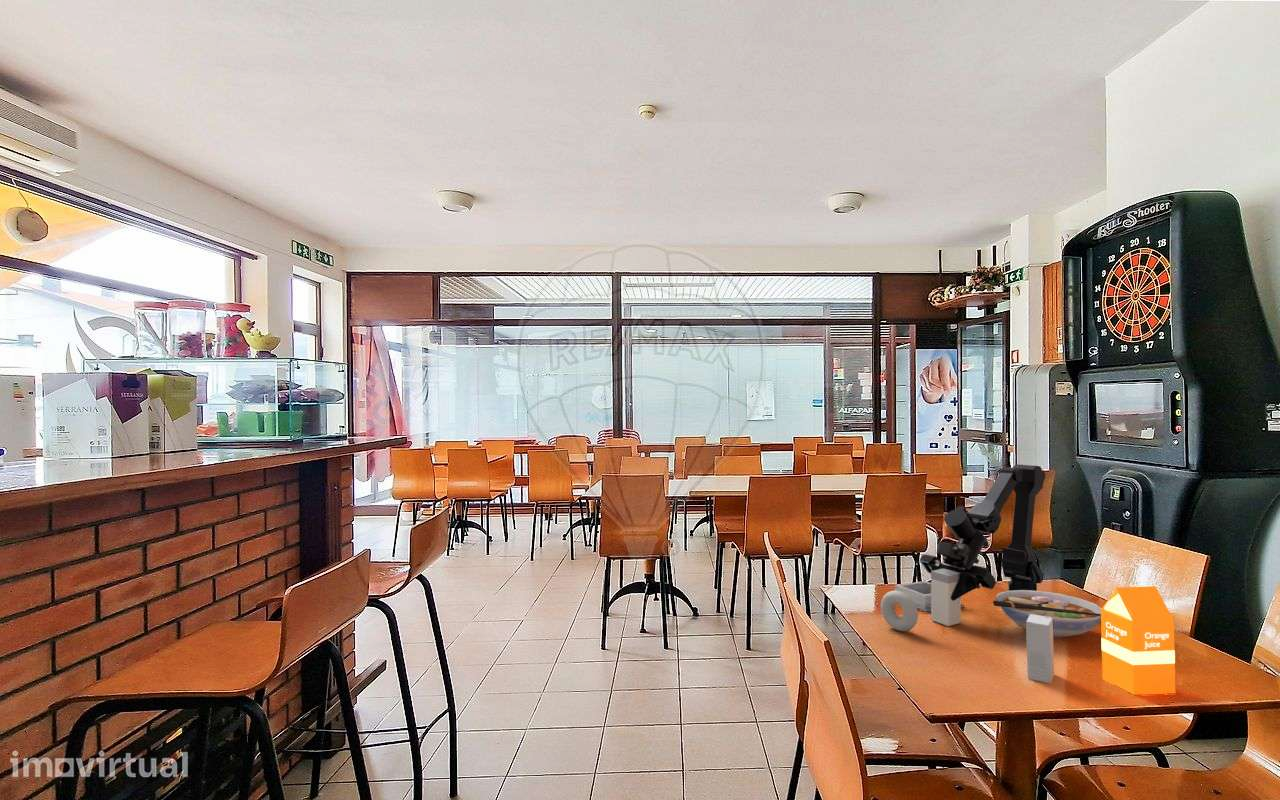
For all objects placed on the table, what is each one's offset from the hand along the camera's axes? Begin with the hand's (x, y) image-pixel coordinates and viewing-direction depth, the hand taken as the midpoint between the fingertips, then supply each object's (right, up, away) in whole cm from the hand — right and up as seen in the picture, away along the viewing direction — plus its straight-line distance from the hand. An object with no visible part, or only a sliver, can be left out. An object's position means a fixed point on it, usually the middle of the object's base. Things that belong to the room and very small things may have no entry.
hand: (942, 596), depth 161 cm
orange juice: (+21, -6, -37) cm, 43 cm away
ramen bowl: (+23, -7, -7) cm, 25 cm away
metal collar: (+4, -7, +17) cm, 19 cm away
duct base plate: (+4, -7, +17) cm, 19 cm away
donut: (-13, -7, -5) cm, 16 cm away
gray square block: (+1, -7, +1) cm, 7 cm away
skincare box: (+5, -7, -32) cm, 33 cm away
